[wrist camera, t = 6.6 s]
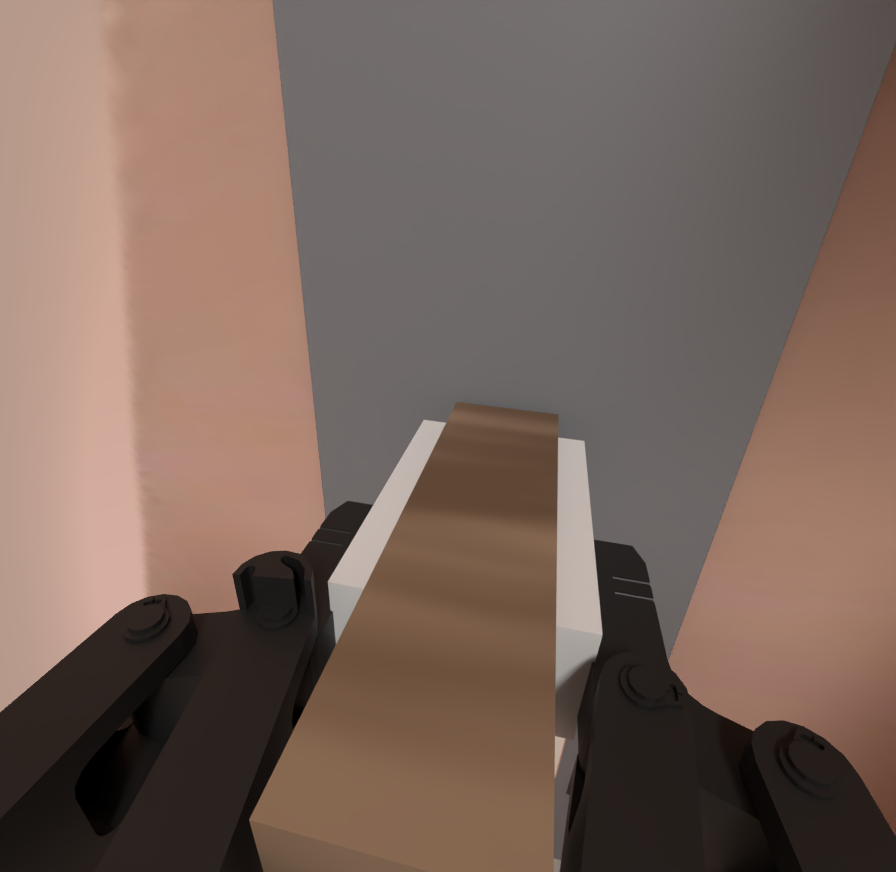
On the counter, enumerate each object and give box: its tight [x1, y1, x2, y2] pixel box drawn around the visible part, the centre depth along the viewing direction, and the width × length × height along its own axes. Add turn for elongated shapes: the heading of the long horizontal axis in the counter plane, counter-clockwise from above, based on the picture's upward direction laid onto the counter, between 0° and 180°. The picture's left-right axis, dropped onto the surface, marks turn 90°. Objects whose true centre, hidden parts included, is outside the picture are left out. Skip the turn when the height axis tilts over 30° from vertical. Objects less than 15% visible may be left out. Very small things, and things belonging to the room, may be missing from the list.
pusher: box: [249, 402, 558, 872], centre depth 12 cm, size 9×10×11 cm
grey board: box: [273, 0, 896, 872], centre depth 17 cm, size 38×13×3 cm, turn 178°
